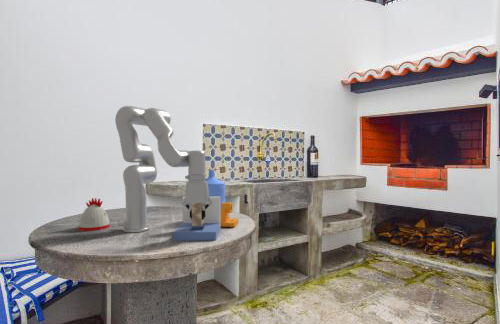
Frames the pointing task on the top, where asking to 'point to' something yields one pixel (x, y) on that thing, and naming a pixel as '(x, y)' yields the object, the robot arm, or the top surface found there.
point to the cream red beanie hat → (94, 217)
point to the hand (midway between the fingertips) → (197, 218)
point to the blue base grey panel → (206, 230)
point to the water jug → (216, 187)
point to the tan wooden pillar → (197, 214)
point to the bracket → (227, 215)
